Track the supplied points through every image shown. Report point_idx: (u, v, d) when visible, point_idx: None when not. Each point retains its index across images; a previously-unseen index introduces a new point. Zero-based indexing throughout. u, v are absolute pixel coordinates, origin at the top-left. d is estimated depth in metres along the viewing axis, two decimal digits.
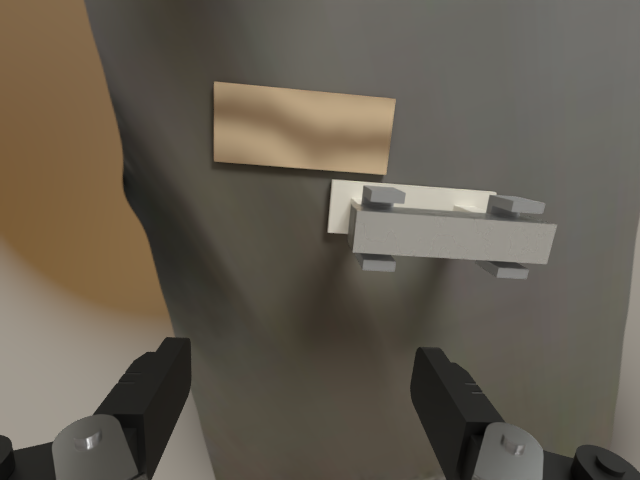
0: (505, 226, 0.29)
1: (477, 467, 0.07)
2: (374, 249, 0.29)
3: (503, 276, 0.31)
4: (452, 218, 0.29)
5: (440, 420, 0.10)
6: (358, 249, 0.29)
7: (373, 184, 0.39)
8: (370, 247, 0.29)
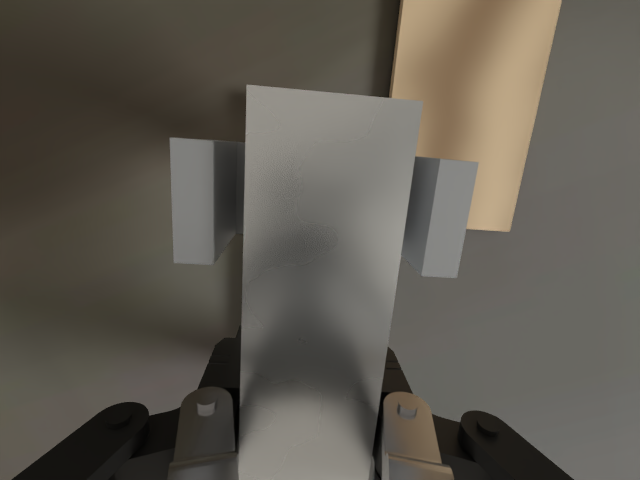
0: None
1: (386, 443, 0.08)
2: (261, 179, 0.07)
3: None
4: (371, 426, 0.09)
5: None
6: (260, 111, 0.07)
7: None
8: (269, 161, 0.07)
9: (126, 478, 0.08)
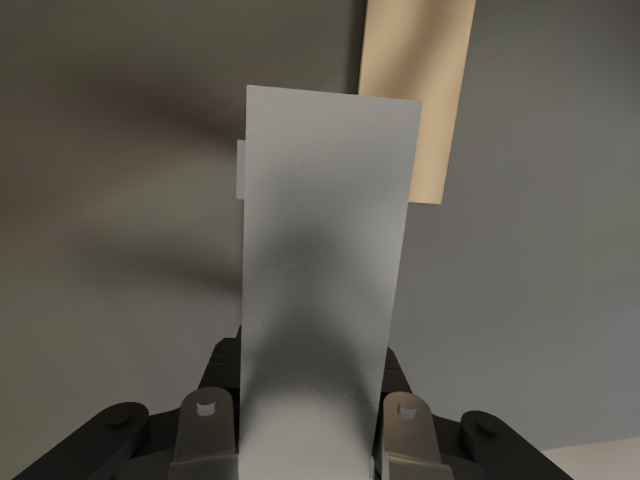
0: None
1: (386, 443, 0.08)
2: (262, 178, 0.07)
3: None
4: (371, 425, 0.09)
5: None
6: (261, 111, 0.07)
7: None
8: (269, 160, 0.07)
9: (126, 478, 0.08)
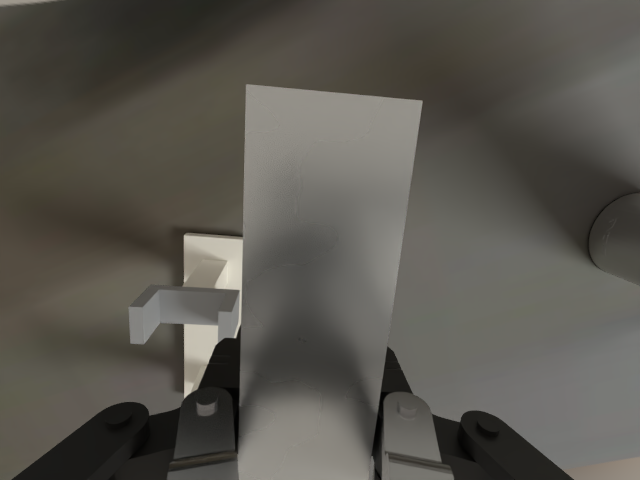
0: None
1: (386, 443, 0.08)
2: (261, 178, 0.07)
3: None
4: (370, 426, 0.09)
5: None
6: (260, 110, 0.07)
7: None
8: (268, 160, 0.07)
9: (126, 478, 0.08)
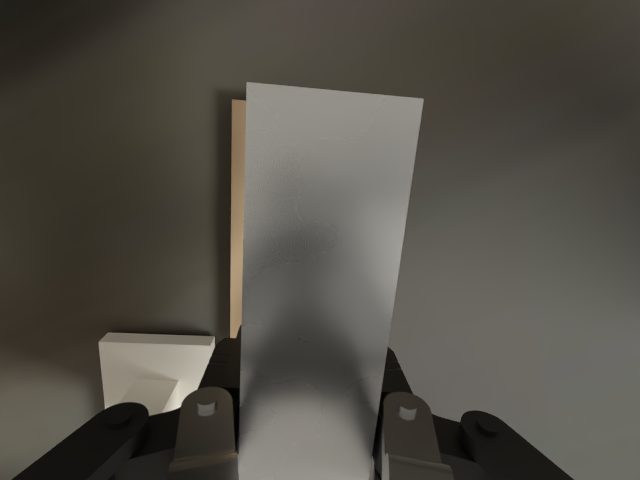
0: None
1: (386, 443, 0.08)
2: (261, 176, 0.07)
3: None
4: (371, 424, 0.09)
5: None
6: (260, 108, 0.07)
7: None
8: (269, 158, 0.07)
9: (126, 478, 0.08)
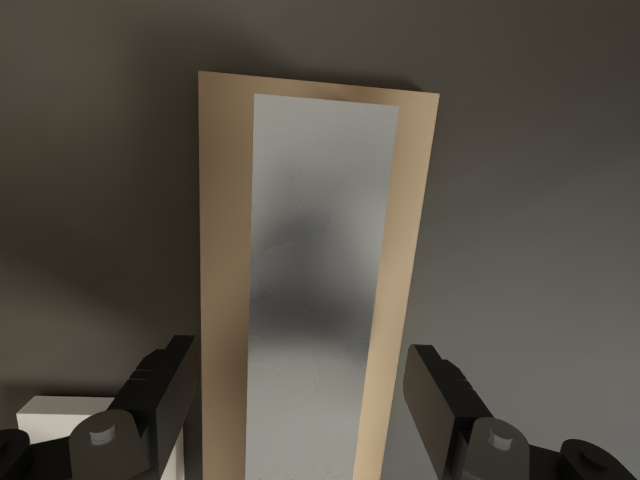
0: None
1: (466, 463, 0.07)
2: (266, 171, 0.09)
3: None
4: (360, 384, 0.11)
5: (431, 416, 0.10)
6: (265, 114, 0.08)
7: None
8: (272, 155, 0.09)
9: None
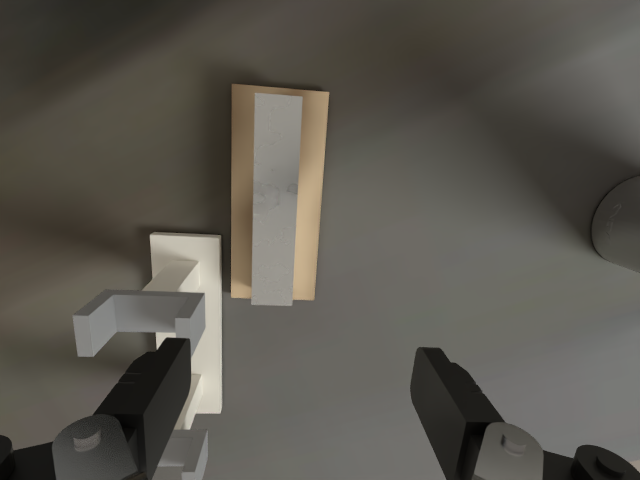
0: (289, 257, 0.29)
1: (477, 467, 0.07)
2: (259, 118, 0.26)
3: None
4: (295, 202, 0.28)
5: (440, 420, 0.10)
6: (258, 99, 0.26)
7: (217, 285, 0.33)
8: (261, 113, 0.26)
9: None
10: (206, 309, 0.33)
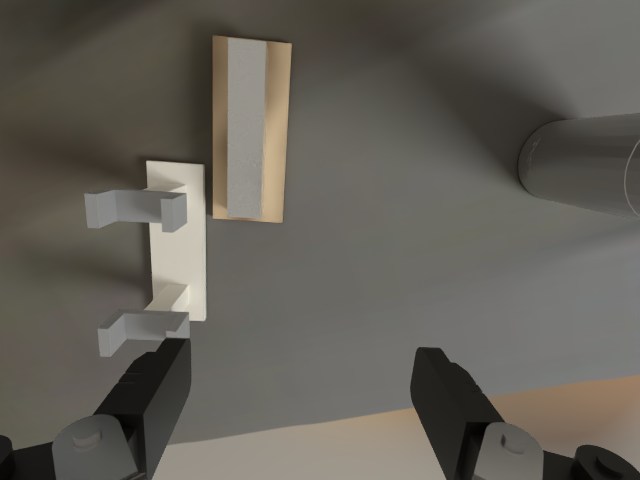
0: (257, 176, 0.36)
1: (477, 467, 0.07)
2: (231, 59, 0.33)
3: (99, 334, 0.31)
4: (262, 129, 0.35)
5: (440, 420, 0.10)
6: (231, 43, 0.33)
7: (201, 206, 0.39)
8: (233, 55, 0.33)
9: None
10: (192, 227, 0.40)
